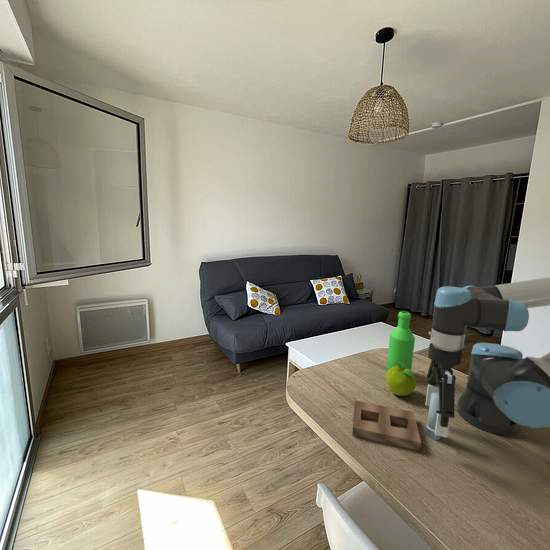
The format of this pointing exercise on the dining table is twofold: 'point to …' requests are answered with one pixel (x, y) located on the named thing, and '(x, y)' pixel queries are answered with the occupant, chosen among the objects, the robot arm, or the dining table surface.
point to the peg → (433, 416)
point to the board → (386, 425)
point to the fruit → (401, 380)
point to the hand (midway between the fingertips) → (435, 419)
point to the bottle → (401, 343)
